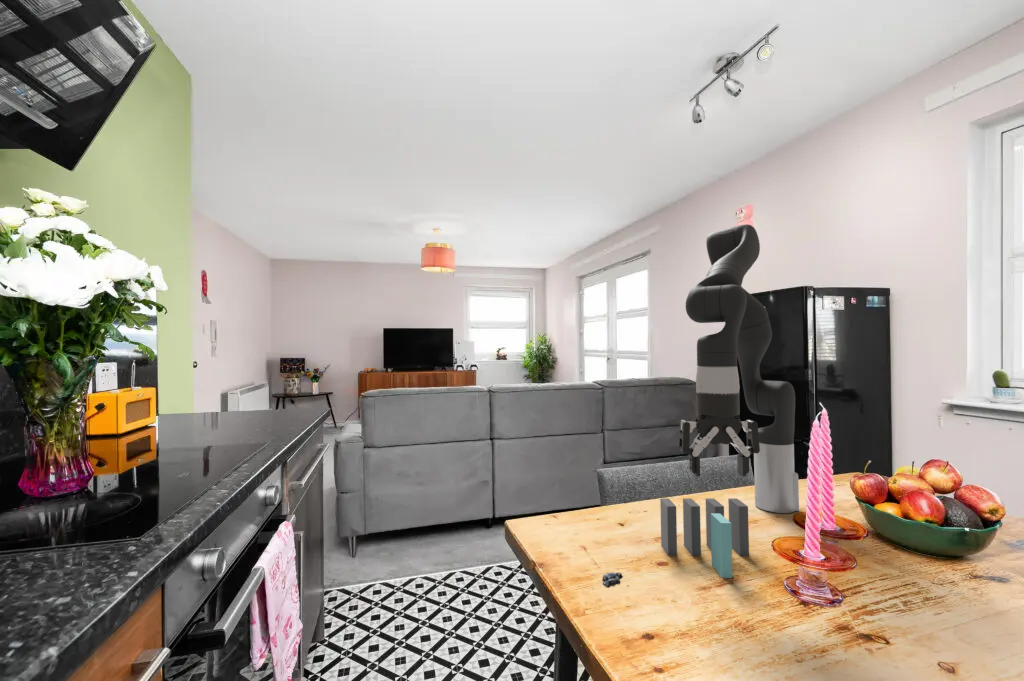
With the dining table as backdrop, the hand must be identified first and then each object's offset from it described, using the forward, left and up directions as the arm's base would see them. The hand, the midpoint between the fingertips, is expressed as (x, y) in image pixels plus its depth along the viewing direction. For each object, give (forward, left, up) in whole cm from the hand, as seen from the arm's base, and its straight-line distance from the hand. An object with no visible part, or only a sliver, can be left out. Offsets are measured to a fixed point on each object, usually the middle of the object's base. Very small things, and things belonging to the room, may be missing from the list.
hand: (719, 475), depth 87 cm
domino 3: (-3, -9, -18) cm, 20 cm away
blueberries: (+21, +4, -19) cm, 28 cm away
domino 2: (+2, -9, -18) cm, 20 cm away
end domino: (0, 0, -18) cm, 18 cm away
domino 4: (-7, -9, -18) cm, 21 cm away
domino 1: (+7, -9, -18) cm, 21 cm away
